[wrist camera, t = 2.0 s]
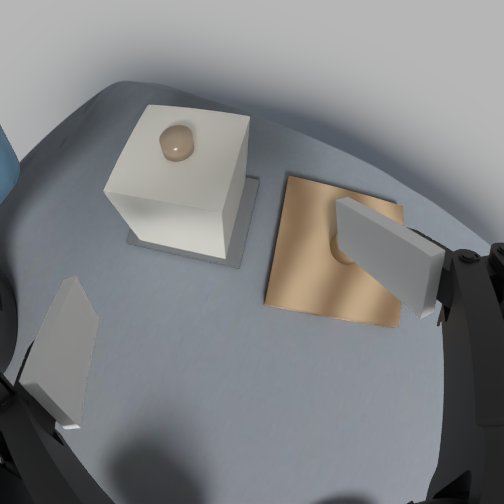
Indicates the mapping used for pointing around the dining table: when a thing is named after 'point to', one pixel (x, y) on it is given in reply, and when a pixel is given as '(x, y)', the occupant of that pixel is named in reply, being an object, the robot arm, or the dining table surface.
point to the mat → (237, 235)
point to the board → (325, 260)
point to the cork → (339, 252)
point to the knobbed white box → (182, 177)
